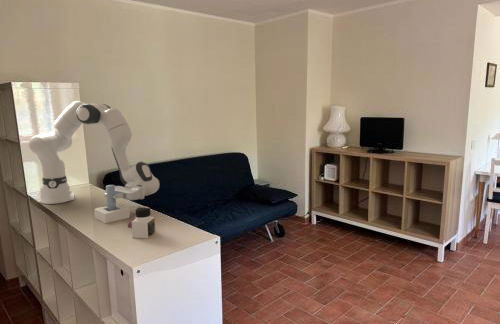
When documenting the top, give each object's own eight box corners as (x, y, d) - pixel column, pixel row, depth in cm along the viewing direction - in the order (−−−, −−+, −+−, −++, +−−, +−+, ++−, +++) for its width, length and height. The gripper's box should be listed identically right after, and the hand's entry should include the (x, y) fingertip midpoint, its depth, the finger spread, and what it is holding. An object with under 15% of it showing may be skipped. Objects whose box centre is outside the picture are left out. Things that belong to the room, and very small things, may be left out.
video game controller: (146, 233, 151) (151, 218, 153) (137, 231, 148) (143, 216, 149) (134, 228, 158) (140, 213, 159) (126, 226, 155) (131, 211, 156)
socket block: (94, 217, 168) (94, 208, 168) (118, 212, 177) (118, 203, 176) (105, 223, 160) (104, 214, 159) (129, 217, 169) (129, 208, 168)
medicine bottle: (148, 238, 142) (147, 210, 140) (132, 238, 142) (130, 210, 140) (155, 232, 149) (154, 205, 147) (139, 231, 149) (138, 205, 147)
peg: (108, 216, 170) (106, 185, 167) (116, 216, 171) (115, 184, 168) (107, 219, 166) (105, 186, 163) (116, 218, 167) (114, 186, 165)
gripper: (119, 182, 183) (95, 187, 171) (145, 186, 172) (122, 192, 160) (119, 193, 184) (96, 199, 172) (146, 199, 173) (123, 205, 161)
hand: (109, 196), depth 166 cm, fingers open, 5 cm apart
